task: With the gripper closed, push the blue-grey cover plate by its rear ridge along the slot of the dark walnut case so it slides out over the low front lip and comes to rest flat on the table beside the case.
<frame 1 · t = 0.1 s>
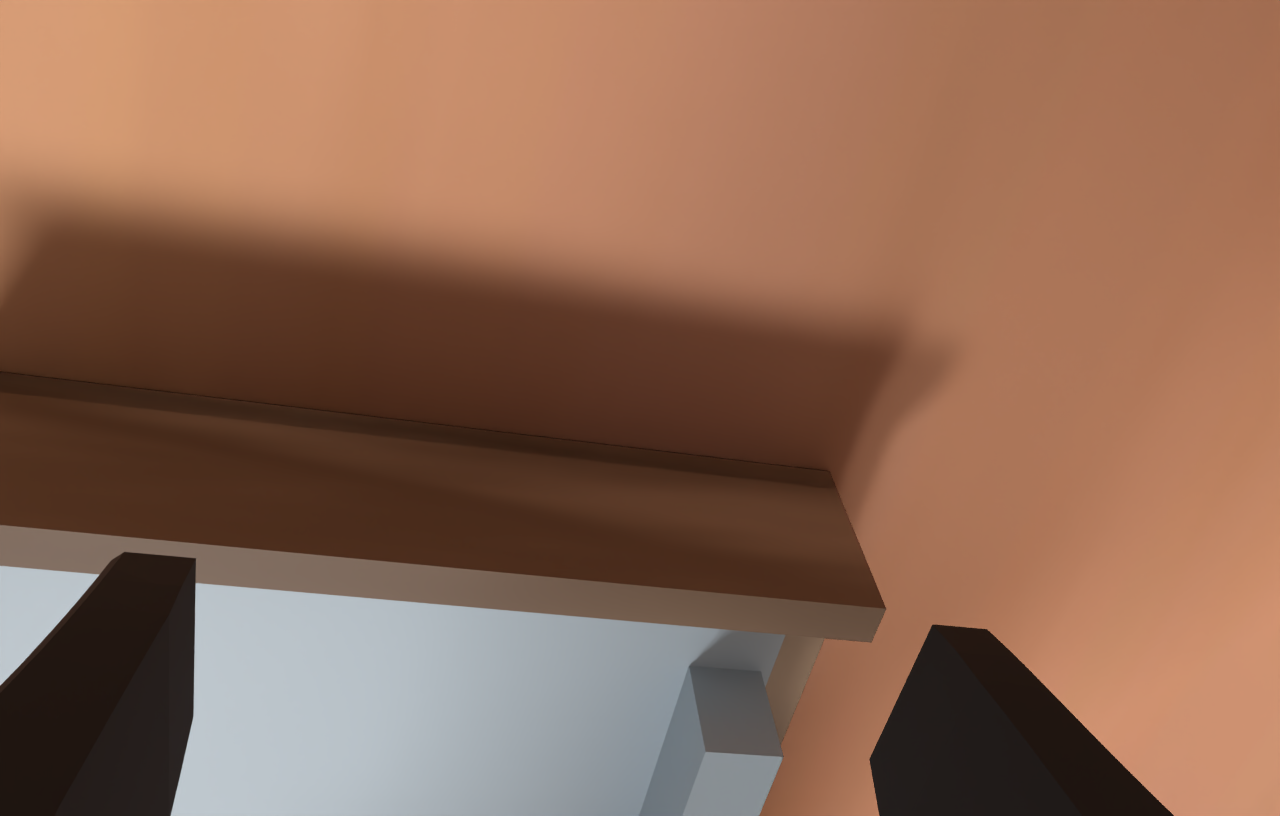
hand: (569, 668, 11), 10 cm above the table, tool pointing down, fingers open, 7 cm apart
case: (392, 670, 25), on the table
cover plate: (347, 757, 23), point 2 cm above the table, touching case
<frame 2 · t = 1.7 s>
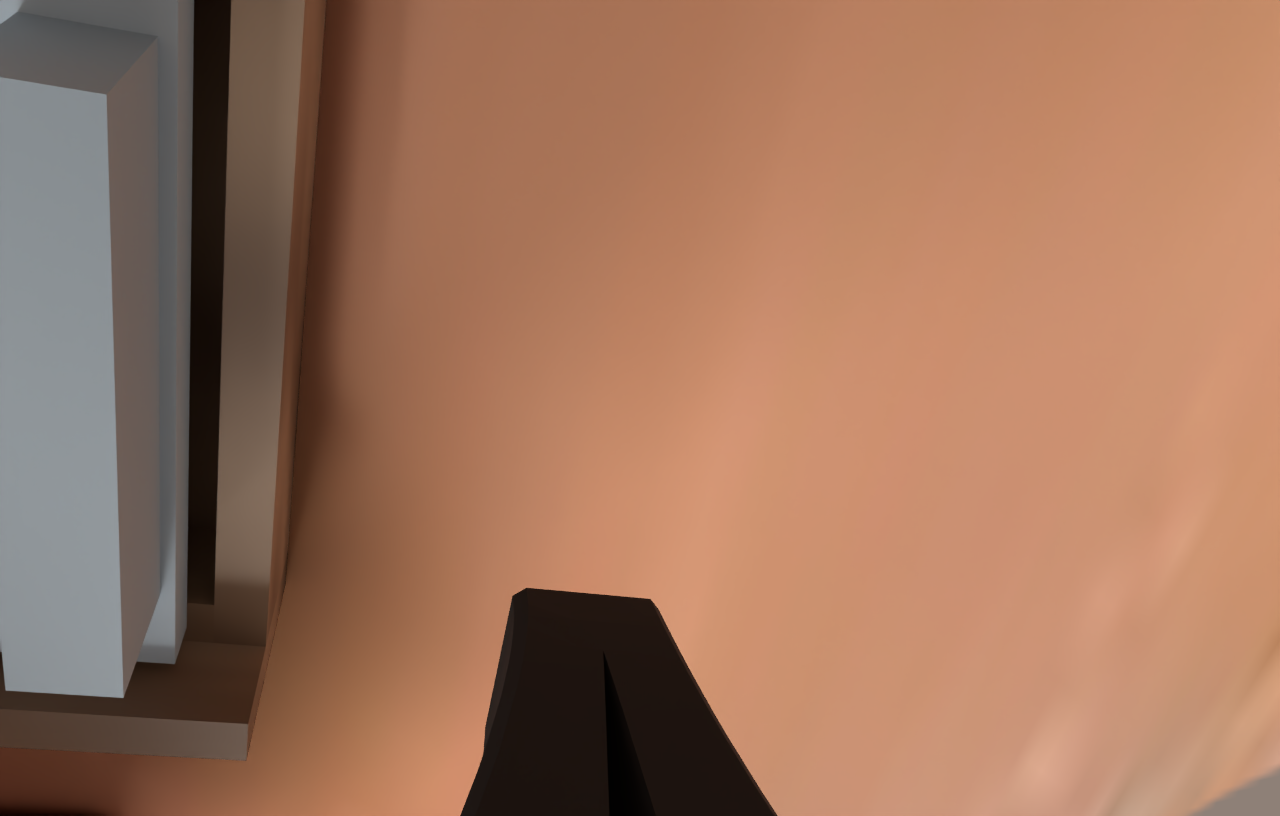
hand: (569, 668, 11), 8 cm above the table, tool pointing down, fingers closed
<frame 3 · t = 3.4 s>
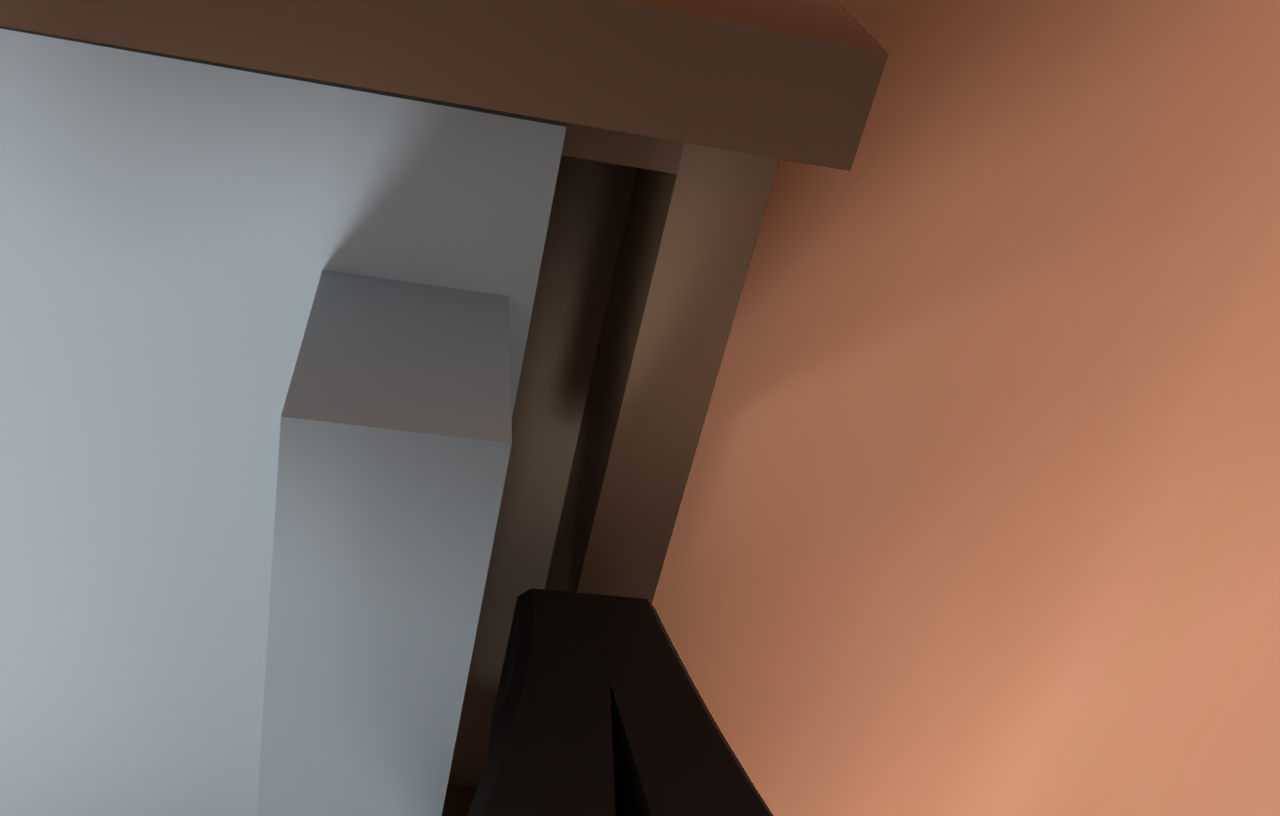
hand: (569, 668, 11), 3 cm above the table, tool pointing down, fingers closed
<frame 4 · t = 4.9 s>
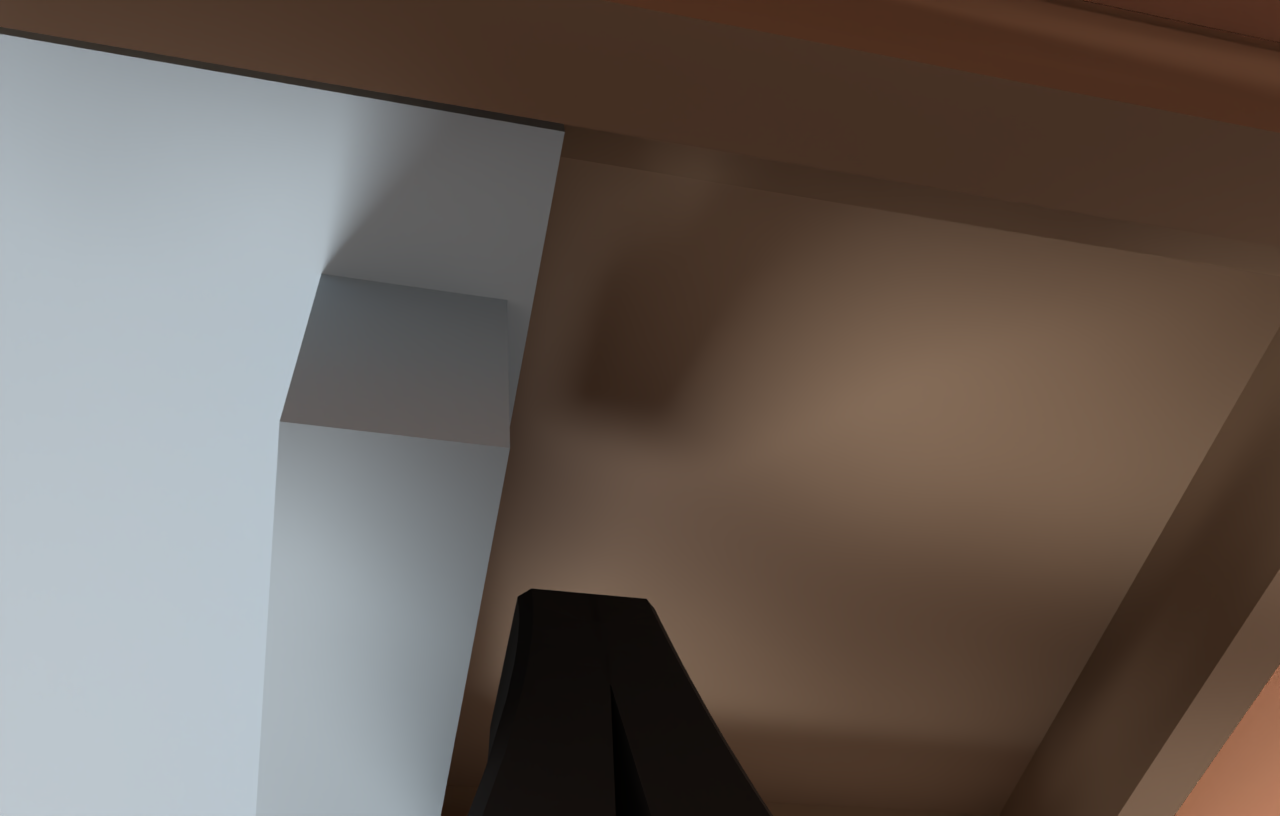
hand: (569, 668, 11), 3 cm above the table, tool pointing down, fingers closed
case: (593, 484, 14), on the table
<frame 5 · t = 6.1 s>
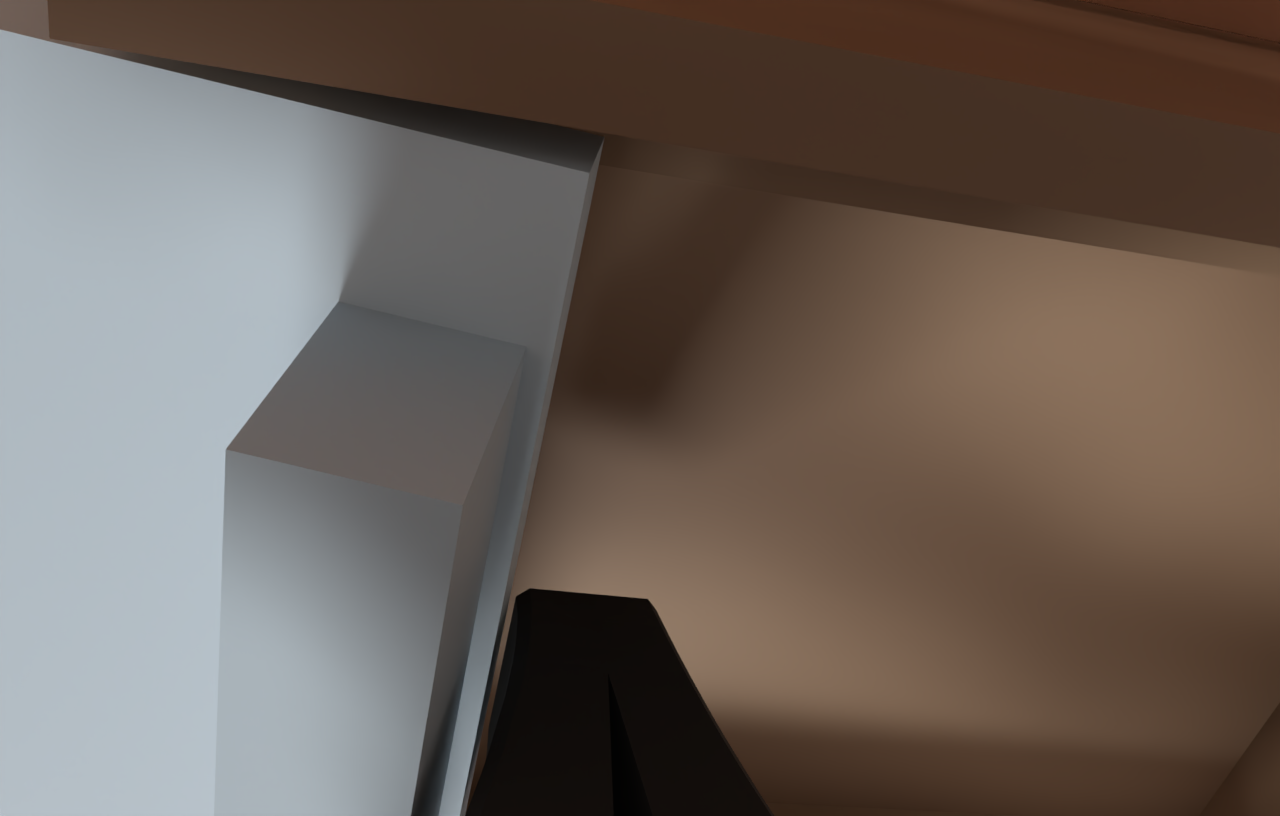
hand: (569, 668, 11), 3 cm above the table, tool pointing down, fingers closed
case: (850, 512, 15), on the table
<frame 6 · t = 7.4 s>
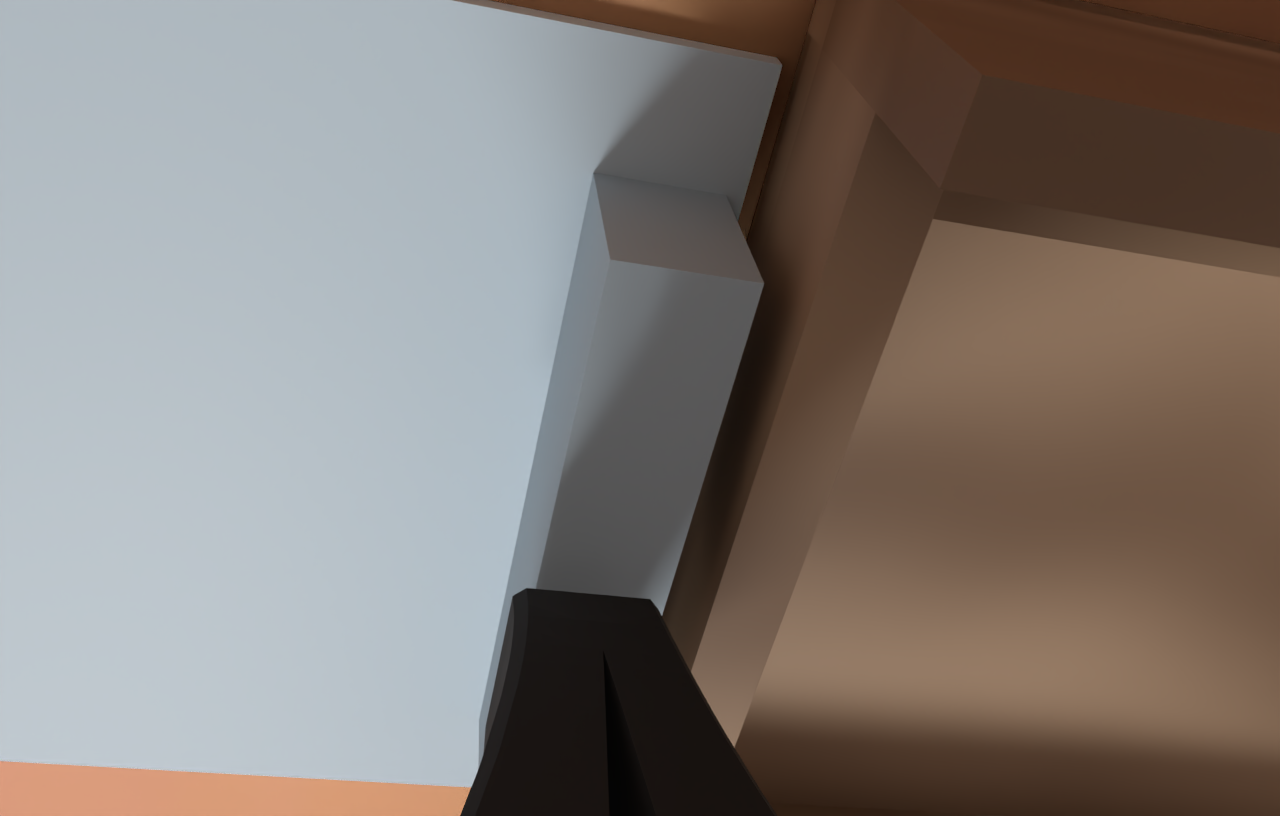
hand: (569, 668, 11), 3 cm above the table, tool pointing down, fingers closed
case: (1235, 554, 16), on the table
cover plate: (12, 388, 13), on the table
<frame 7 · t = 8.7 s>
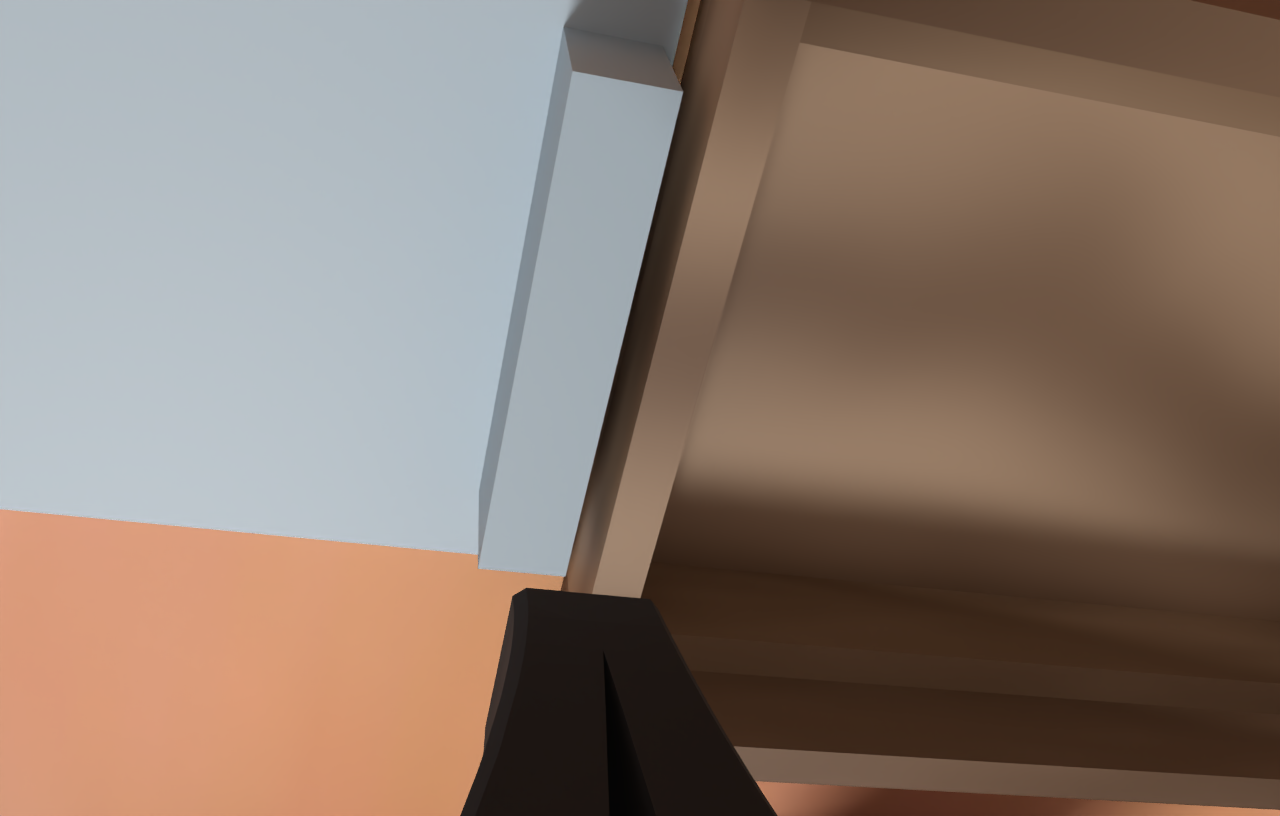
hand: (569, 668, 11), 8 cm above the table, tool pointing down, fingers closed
case: (1079, 360, 20), on the table
cover plate: (122, 204, 17), on the table
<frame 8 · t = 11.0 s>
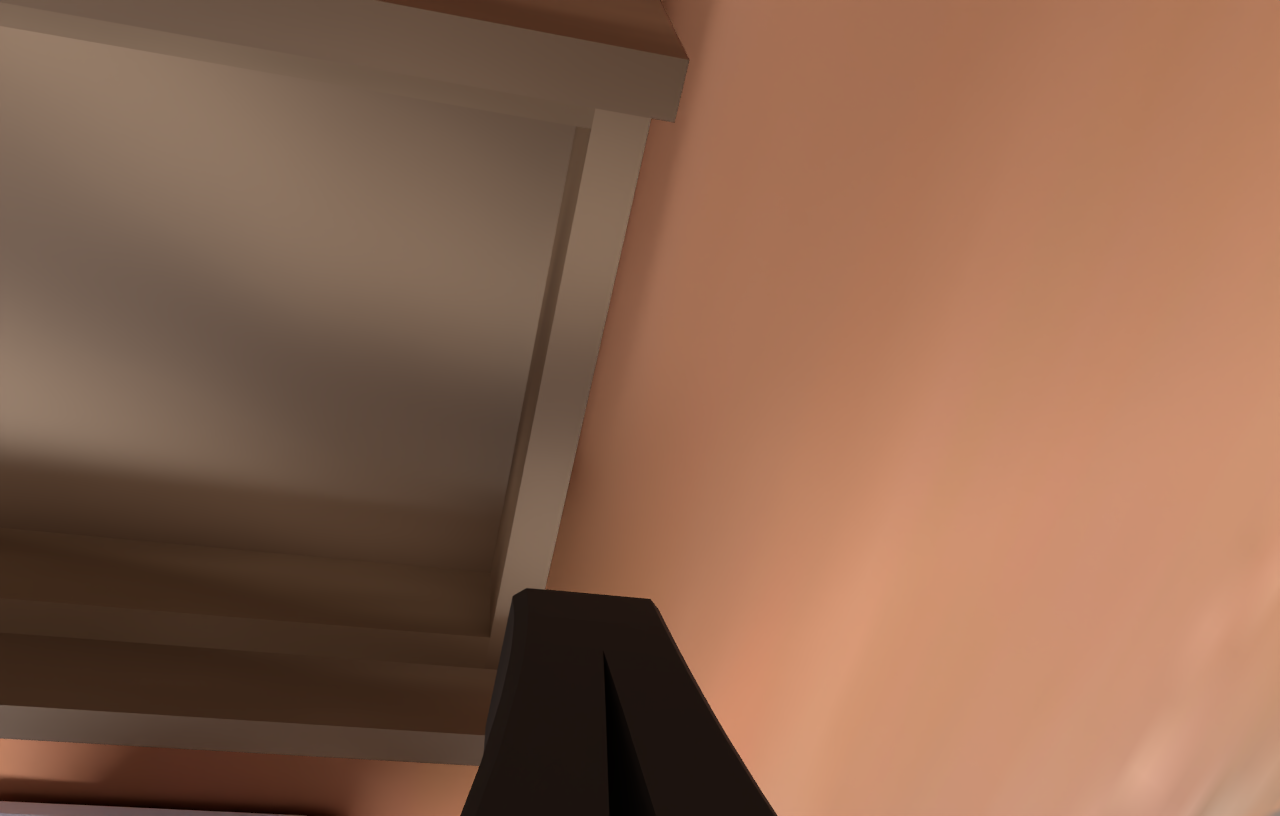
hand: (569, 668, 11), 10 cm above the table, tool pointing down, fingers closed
case: (101, 287, 19), on the table
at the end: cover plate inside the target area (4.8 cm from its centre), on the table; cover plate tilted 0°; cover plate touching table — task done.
